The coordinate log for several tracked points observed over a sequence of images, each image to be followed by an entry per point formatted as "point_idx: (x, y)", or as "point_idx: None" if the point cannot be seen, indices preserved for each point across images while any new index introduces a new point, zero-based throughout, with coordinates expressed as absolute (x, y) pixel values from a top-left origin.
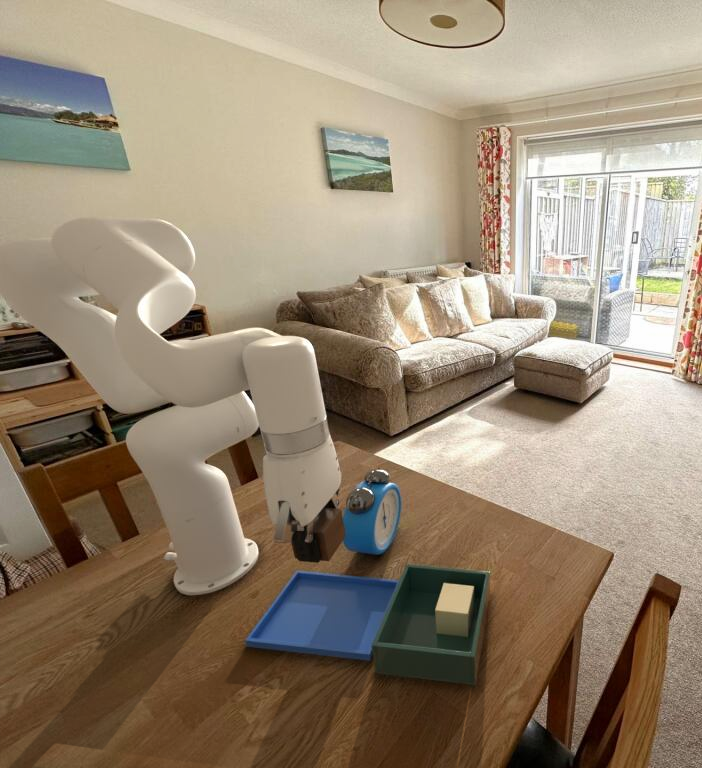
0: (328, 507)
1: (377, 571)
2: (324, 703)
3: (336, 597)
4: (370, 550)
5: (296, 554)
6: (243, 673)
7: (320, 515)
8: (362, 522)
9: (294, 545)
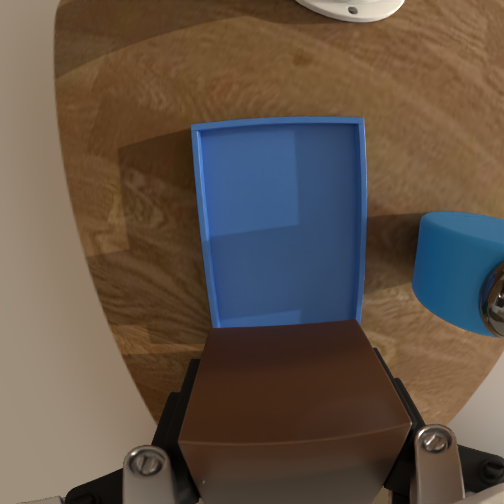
0: (388, 481)
1: (388, 273)
2: (153, 303)
3: (320, 230)
4: (413, 283)
5: (186, 374)
6: (157, 155)
7: (324, 495)
8: (460, 299)
9: (175, 410)
